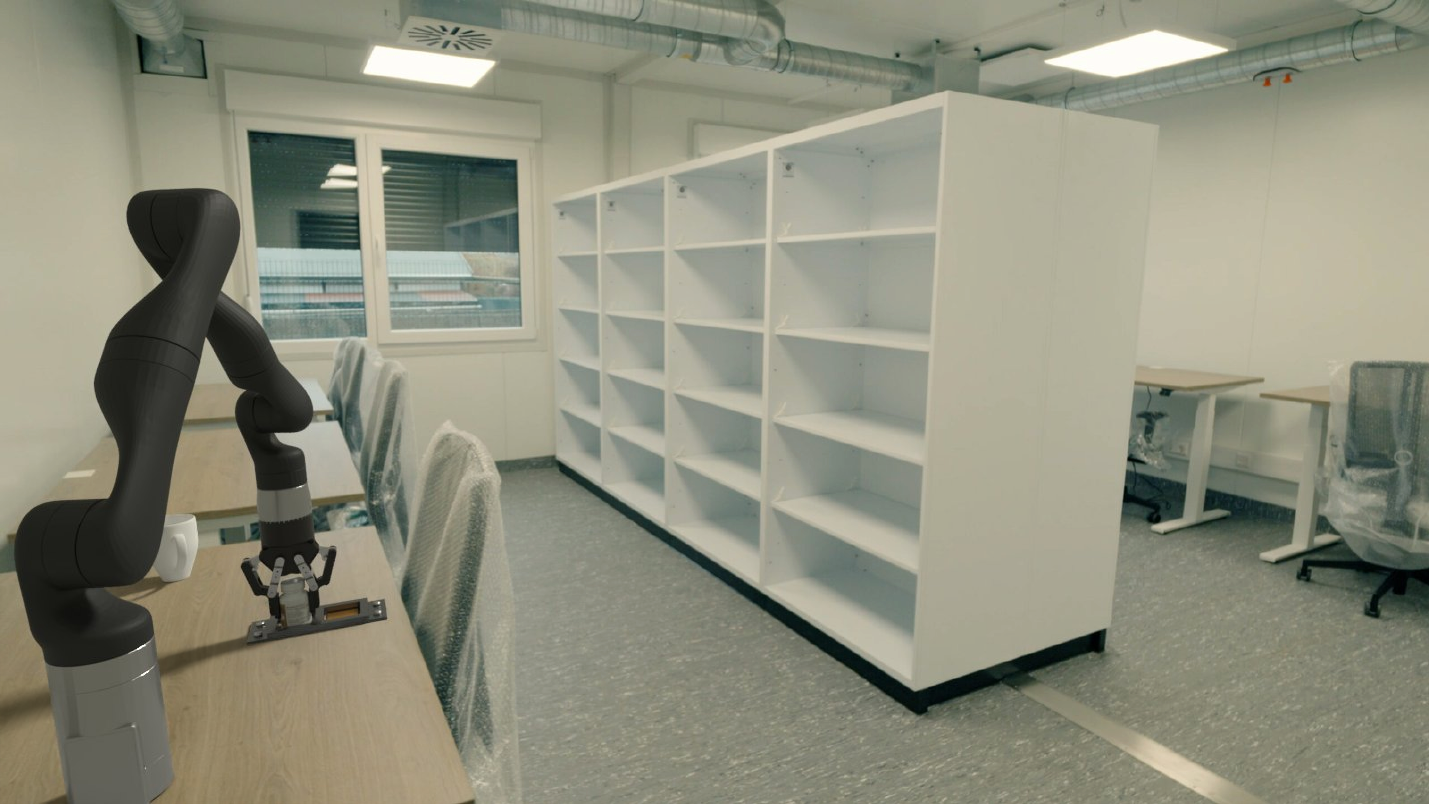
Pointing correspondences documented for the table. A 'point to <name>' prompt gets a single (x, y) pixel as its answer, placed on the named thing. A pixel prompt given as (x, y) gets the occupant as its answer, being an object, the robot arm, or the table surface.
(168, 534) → the mug
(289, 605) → the pill bottle
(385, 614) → the metal frame plate
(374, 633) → the table surface
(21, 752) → the table surface
